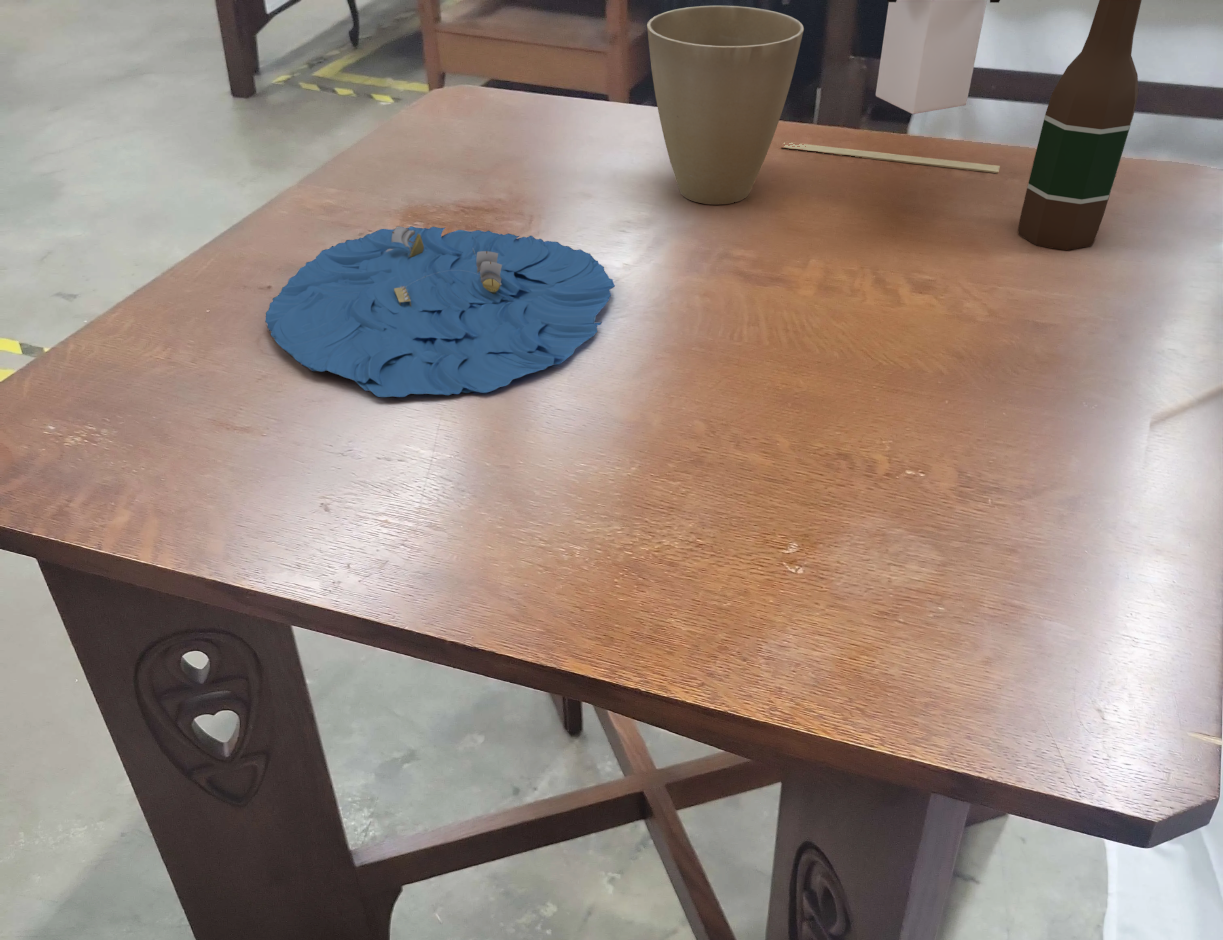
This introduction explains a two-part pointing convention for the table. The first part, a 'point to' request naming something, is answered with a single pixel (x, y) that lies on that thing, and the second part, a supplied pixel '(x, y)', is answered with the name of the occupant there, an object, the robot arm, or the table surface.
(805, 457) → the table surface
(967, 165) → the chopstick
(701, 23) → the plant pot
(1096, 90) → the beer bottle
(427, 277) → the blue crumpled disc
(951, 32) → the milk
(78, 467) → the table surface
